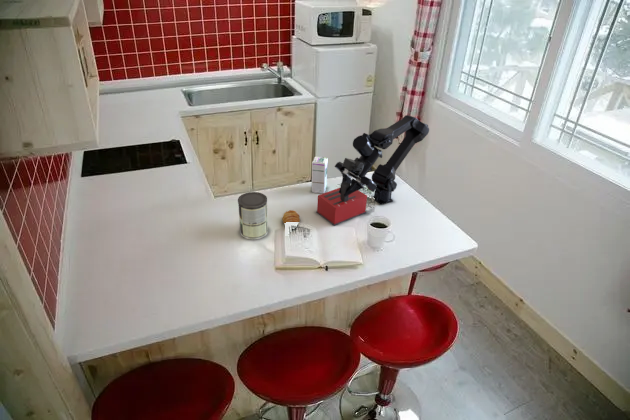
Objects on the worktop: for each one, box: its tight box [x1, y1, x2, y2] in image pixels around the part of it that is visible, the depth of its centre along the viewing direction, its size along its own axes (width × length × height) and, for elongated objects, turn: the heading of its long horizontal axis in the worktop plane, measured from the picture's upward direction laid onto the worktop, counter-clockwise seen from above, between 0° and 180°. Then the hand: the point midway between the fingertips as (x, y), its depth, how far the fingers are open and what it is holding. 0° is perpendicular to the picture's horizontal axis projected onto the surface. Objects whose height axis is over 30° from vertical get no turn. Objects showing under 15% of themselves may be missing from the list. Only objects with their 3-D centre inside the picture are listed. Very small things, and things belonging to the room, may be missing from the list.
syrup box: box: [311, 156, 329, 194], centre depth 186 cm, size 6×6×14 cm
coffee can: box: [237, 191, 269, 241], centre depth 158 cm, size 10×10×14 cm
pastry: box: [281, 209, 301, 224], centre depth 166 cm, size 9×7×4 cm
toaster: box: [316, 187, 368, 227], centre depth 173 cm, size 16×11×8 cm
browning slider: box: [340, 182, 351, 202], centre depth 166 cm, size 2×3×7 cm
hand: (341, 194), depth 165 cm, fingers closed on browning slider, 2 cm apart
